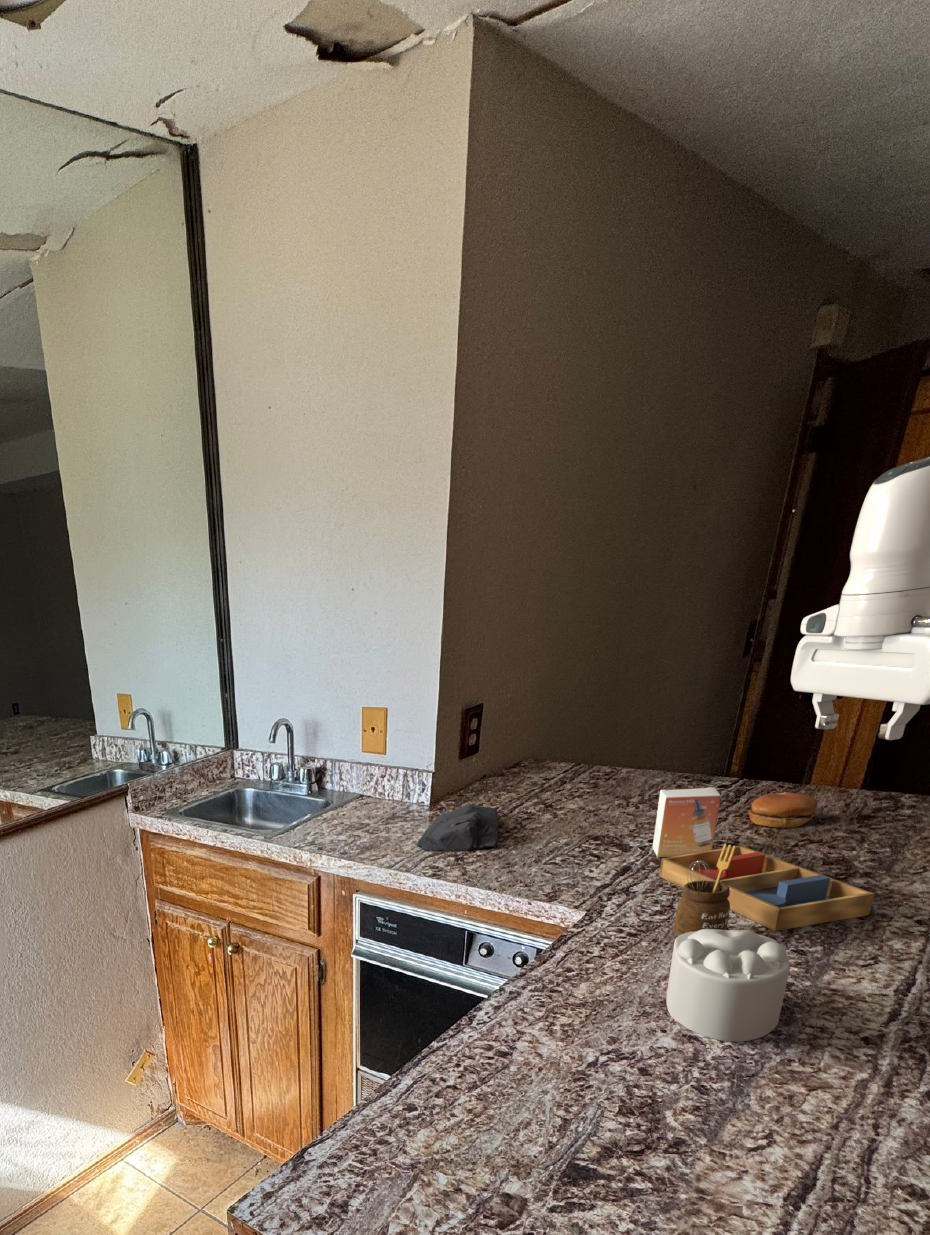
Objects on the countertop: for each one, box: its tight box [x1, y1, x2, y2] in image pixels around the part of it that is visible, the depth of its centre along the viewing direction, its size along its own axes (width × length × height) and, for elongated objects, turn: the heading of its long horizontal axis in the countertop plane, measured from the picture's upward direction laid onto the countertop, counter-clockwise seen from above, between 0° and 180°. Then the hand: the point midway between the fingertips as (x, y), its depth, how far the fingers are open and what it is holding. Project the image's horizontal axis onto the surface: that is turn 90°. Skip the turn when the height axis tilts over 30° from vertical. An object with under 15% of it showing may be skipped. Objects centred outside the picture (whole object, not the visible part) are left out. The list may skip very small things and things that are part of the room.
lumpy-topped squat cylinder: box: [665, 929, 791, 1043], centre depth 87 cm, size 10×13×9 cm
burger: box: [747, 791, 818, 829], centre depth 139 cm, size 10×9×5 cm
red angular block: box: [696, 851, 765, 880], centre depth 119 cm, size 10×4×3 cm, turn 95°
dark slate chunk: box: [415, 804, 499, 852], centre depth 158 cm, size 15×22×5 cm
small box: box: [652, 786, 722, 858], centre depth 131 cm, size 8×6×10 cm
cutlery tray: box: [658, 845, 875, 932], centre depth 114 cm, size 13×24×3 cm, turn 5°
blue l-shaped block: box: [752, 874, 831, 908], centre depth 108 cm, size 10×4×3 cm, turn 95°
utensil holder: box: [674, 843, 737, 937], centre depth 103 cm, size 6×6×12 cm
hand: (856, 733), depth 100 cm, fingers open, 8 cm apart
